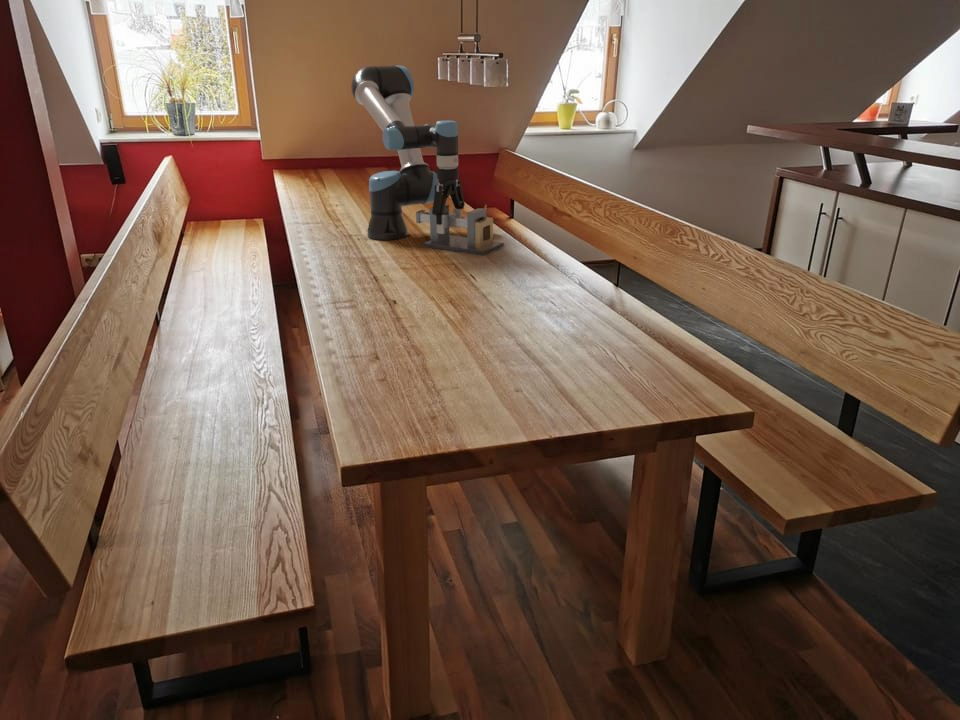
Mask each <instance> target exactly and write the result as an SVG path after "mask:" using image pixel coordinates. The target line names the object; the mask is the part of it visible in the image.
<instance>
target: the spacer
mask: <svg viewBox="0 0 960 720" xmlns="http://www.w3.org/2000/svg"><path fill="white" fill-rule="evenodd" d="M487 217H488V218H485V219H482V220H480V221H477V222H475V248H479V249H481V248H483V247H485V246H488V245H490V244H492V243H493V241H494V217H489V216H487ZM483 227H485V238H484V239H483Z"/></svg>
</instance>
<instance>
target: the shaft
mask: <svg viewBox="0 0 960 720" xmlns="http://www.w3.org/2000/svg"><path fill="white" fill-rule="evenodd" d="M443 215H444V227H446V228H449V229H450V228H453V227H454V226H458V227H457V228H459V227H460V228H466V229H467V216H462V215H461V216H456V213H454V212H449V213H446V214H443ZM477 221H478V219H477ZM415 222H416V224H420V223H426V224H430V212H427V211H425V209H421V210H418V211H416V212H415Z"/></svg>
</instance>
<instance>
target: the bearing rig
mask: <svg viewBox="0 0 960 720" xmlns="http://www.w3.org/2000/svg"><path fill="white" fill-rule="evenodd" d="M432 210H433V206H432V207H429V213H430V223H429V228H430V240H428V241H425V242H423V248H429V249H434V250H435V249H436V250H444V251H449V252H456V253H463V254H464V253H465V254H469V255H478V256H487V255H489V254H491V253H493V252H495V251H497V250H500V249H502V248H504V247H505V242H502V241H495V240H493V243H492V244H490V245H488V246H485V247H483V248H481V249H479V248H475V222H477V219H478V221H480V220H482V219H485V218H486V216H487V208H486V209H485V208H480V207H478V208H475V209H473V210H471V211H468V212H466V217H467V228H466V229H467V230H466V231H467V235H466V236H458V235H450V228H446V227H444V229H445V234H440V233H437V223H436V222H437V221H436V215H434V214H432ZM435 211H436V210H435ZM446 213H450V205H449V204H445V207H444V211H443V214H446ZM484 238H485V227H483V239H484ZM503 246H504V247H503ZM501 247H502V248H501Z"/></svg>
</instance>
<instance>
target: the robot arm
mask: <svg viewBox="0 0 960 720" xmlns="http://www.w3.org/2000/svg"><path fill="white" fill-rule="evenodd" d="M414 85H415V84H414V78H413V76H412V73H411V71H410V70H409V69H408V68H407V67H405V66H403V65H396V64H394V65H393V64H392V65H373V66H372V65H367V66H364V67H362V68H360V69H359V70H357V72H355V74H354V76H353V77H352V78H351V85H350V88H351V89H350V90H351V93H352V94H351V95H352V96H353V98H354V99H355V101H356V102H357V103H358V104H359V105H361V106H363V107H364V109H365V110H366V111H367V113H369V115H370V117H372V119H373V120H374V122H375V123H376V125H378V127H379V128H380V130H381V131H382V142H383V146H384V147H385V148H386V149H387V150H388V151H397V153H398V157H399V162H400V165H401V167H400V170H399V171H398V170H389V171H388V170H385V171H381V172H377V173H375V174H372V175H370V177H369V179H368V183H369V184H368V191H369V192H368V193H369V207H370V219H369V223H368V227H367V229H366V230H367V231H366V232H367V237H368V238H369V239H372V240H380V241H384V240H385V241H386V240H387V241H388V240H389V241H391V240H398V239H402V238H405V237H407V236H408V227H407V225H406V222H405V220H404V216H403V207H406V206H415V205H416V206H417V205H421V204H422V205H426V204H429V203H432V204H433V205H432V207H433V210H432V214H434V215H436V221H437V222H436V223H437V233H440V234H445V229H444V215H443V211H444V207H445V205H447V204H446V203H447V199H448V198H449V197H450V198H451V201H452V203H453V207H454V208H453V213H456V216H462V210H464V208H465V203H466V202H465V199H464V193H463V189H462V180H460V179H459V178H460V177H459V175H460V174H459V173H460V171H459V170H460V169H459V168H458V166H459V130H458V122H456V121H455V120H449V119H448V120H437V121H436V123H435V124H434V123H425V124H421V125H415V122H414V119H413V115H412V111H411V108H410V107H411V106H410V104H409V103H410V101H411V100H412V96H413V94H414V93H415V92H414V91H415V87H414ZM424 148H436V149H435V151H436V167H437V169H436V171H433V170H430V166H429V164H428V163H427V162H424V158H423V155H422V151H421V149H424ZM458 179H459V180H458ZM439 181H440V182H439ZM435 210H436V211H435ZM453 227H454V228H461V227H458V226H453Z"/></svg>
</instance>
